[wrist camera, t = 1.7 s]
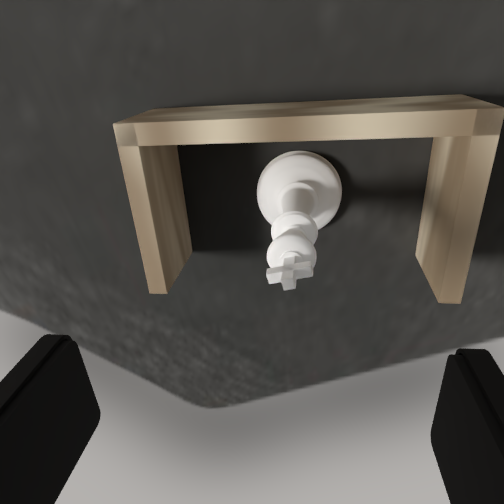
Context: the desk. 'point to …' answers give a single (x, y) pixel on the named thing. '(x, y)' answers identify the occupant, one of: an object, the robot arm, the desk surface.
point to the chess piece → (296, 211)
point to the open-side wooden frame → (315, 129)
